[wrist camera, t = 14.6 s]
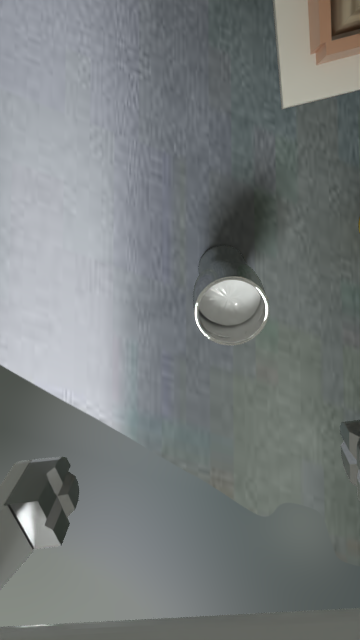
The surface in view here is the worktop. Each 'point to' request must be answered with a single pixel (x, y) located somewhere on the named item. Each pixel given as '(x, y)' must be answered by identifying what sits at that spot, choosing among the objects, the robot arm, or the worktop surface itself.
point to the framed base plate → (313, 53)
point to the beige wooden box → (344, 16)
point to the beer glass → (228, 298)
